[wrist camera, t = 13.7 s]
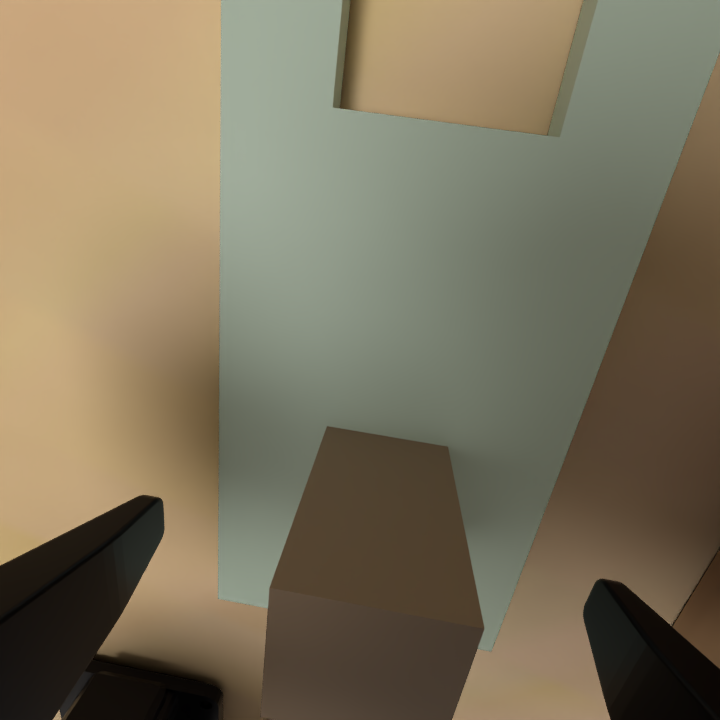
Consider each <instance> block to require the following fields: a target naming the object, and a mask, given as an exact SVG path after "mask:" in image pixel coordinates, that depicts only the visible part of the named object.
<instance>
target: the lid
mask: <svg viewBox="0 0 720 720" xmlns="http://www.w3.org/2000/svg"><path fill="white" fill-rule="evenodd" d="M350 1H351V0H221V143H220V329H219V516H218V599H222V600H227V601H232V602H237V603H242V604H248V605H253V606H258V607H263V608H268V615H267V630H266V644H265V658H264V672H263V687H262V701H261V715H260V717H262V718H267V719H272V720H452V718H453V715H454V712H455V710H456V707H457V704H458V701H459V698H460V696H461V693H462V690H463V687H464V685H465V682H466V679H467V676H468V674H469V671H470V668H471V665H472V662H473V660H474V657H475V654H476V651H477V649H480V650H485V651H490V652H491V651H492V648H493V646H494V643H495V641H496V638H497V635H498V633H499V630H500V627H501V625H502V622H503V620H504V617H505V614H506V612H507V609H508V606H509V604H510V601H511V599H512V596H513V593H514V591H515V588H516V585H517V583H518V580H519V578H520V575H521V572H522V570H523V567H524V564H525V562H526V559H527V557H528V554H529V551H530V549H531V546H532V543H533V541H534V538H535V536H536V533H537V530H538V528H539V525H540V522H541V520H542V517H543V515H544V512H545V509H546V507H547V504H548V501H549V499H550V496H551V494H552V491H553V488H554V486H555V483H556V480H557V478H558V475H559V473H560V470H561V467H562V465H563V462H564V459H565V457H566V454H567V452H568V449H569V446H570V444H571V441H572V438H573V436H574V433H575V431H576V428H577V425H578V423H579V420H580V417H581V415H582V412H583V410H584V407H585V404H586V402H587V399H588V396H589V394H590V391H591V389H592V386H593V383H594V381H595V378H596V375H597V373H598V370H599V368H600V365H601V362H602V360H603V357H604V354H605V352H606V349H607V347H608V344H609V341H610V339H611V336H612V334H613V331H614V328H615V326H616V323H617V320H618V318H619V315H620V313H621V310H622V307H623V305H624V302H625V299H626V297H627V294H628V292H629V289H630V286H631V284H632V281H633V278H634V276H635V273H636V271H637V268H638V265H639V263H640V260H641V257H642V255H643V252H644V250H645V247H646V244H647V242H648V239H649V236H650V234H651V231H652V229H653V226H654V223H655V221H656V218H657V215H658V213H659V210H660V208H661V205H662V202H663V200H664V197H665V194H666V192H667V189H668V187H669V184H670V181H671V179H672V176H673V173H674V171H675V168H676V166H677V163H678V160H679V158H680V155H681V152H682V150H683V147H684V145H685V142H686V139H687V137H688V134H689V131H690V129H691V126H692V124H693V121H694V118H695V116H696V113H697V110H698V108H699V105H700V103H701V100H702V97H703V95H704V92H705V89H706V87H707V84H708V82H709V79H710V76H711V74H712V71H713V68H714V66H715V63H716V61H717V58H718V55H719V53H720V0H583V4H582V8H581V12H580V15H579V19H578V23H577V27H576V30H575V34H574V38H573V41H572V45H571V49H570V53H569V56H568V60H567V64H566V68H565V71H564V75H563V79H562V83H561V86H560V90H559V94H558V97H557V101H556V105H555V109H554V112H553V116H552V120H551V124H550V127H549V131H548V135H547V136H545V135H538V134H530V133H523V132H515V131H507V130H500V129H492V128H484V127H477V126H469V125H462V124H454V123H446V122H439V121H431V120H424V119H416V118H408V117H401V116H393V115H385V114H378V113H370V112H363V111H355V110H347V109H340V102H341V92H342V82H343V72H344V61H345V51H346V41H347V31H348V21H349V11H350Z"/></svg>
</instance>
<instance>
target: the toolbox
mask: <svg viewBox="0 0 720 720" xmlns="http://www.w3.org/2000/svg"><path fill="white" fill-rule="evenodd" d="M673 628H674V629H675V630H676V631H677V632H679V633H680V634H681V635H682V636H683V637H684V638H685V639H687V640H688V641H689V642H690V643H691V644H692V645H693V646H694V647H696V648H697V649H698V650H699V651H700V652H701V653H702V654H703V655H705V656H706V657H707V658H708V659H709V660H710V661H711V662H713V663H714V664H715V665H716V666H717V667H718V668H719V669H720V550H719V551H718V553H717V555H716V556H715V558H714V559H713V561H712V563H711V564H710V566H709V568H708V569H707V571H706V573H705V574H704V576H703V578H702V579H701V581H700V582H699V584H698V586H697V587H696V589H695V591H694V592H693V594H692V596H691V597H690V599H689V600H688V602H687V604H686V605H685V607H684V609H683V610H682V612H681V614H680V615H679V617H678V619H677V620H676V622H675V623H674V625H673Z"/></svg>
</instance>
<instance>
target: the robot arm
mask: <svg viewBox="0 0 720 720" xmlns="http://www.w3.org/2000/svg"><path fill="white" fill-rule="evenodd" d="M163 534H164V509H163V501H162V499H161V498H159V497H154V496H148V495H140V496H138V497H136V498H134V499H132V500H130V501H128V502H126V503H124V504H122V505H120V506H118V507H116V508H114V509H112V510H110V511H108V512H106V513H104V514H102V515H100V516H98V517H96V518H94V519H92V520H90V521H88V522H86V523H84V524H82V525H80V526H78V527H76V528H74V529H72V530H70V531H68V532H66V533H64V534H62V535H60V536H58V537H56V538H54V539H52V540H50V541H48V542H46V543H44V544H42V545H40V546H38V547H36V548H34V549H32V550H30V551H28V552H26V553H24V554H22V555H20V556H19V557H17V558H15V559H13V560H11V561H9V562H7V563H5V564H3V565H1V566H0V720H53V718H54V717H55V715H56V714H57V712H58V711H59V709H60V713H61V718H62V720H223V692H222V691H221V690H220V689H219V688H218V687H216V686H214V685H211V684H207V683H202V682H197V681H192V680H187V679H182V678H177V677H173V676H168V675H163V674H158V673H153V672H148V671H143V670H139V669H134V668H129V667H124V666H119V665H114V664H109V663H105V662H100V661H95V660H92V659H93V657H94V656H95V654H96V653H97V651H98V650H99V648H100V647H101V645H102V644H103V642H104V641H105V639H106V637H107V636H108V634H109V633H110V631H111V630H112V628H113V627H114V625H115V624H116V622H117V620H118V619H119V617H120V616H121V614H122V612H123V610H124V609H125V607H126V605H127V603H128V601H129V600H130V598H131V596H132V594H133V592H134V590H135V588H136V586H137V585H138V583H139V581H140V579H141V577H142V575H143V573H144V571H145V570H146V568H147V566H148V564H149V562H150V560H151V558H152V556H153V555H154V553H155V551H156V549H157V547H158V545H159V543H160V541H161V539H162V537H163ZM583 617H584V622H585V626H586V630H587V634H588V638H589V642H590V646H591V649H592V653H593V657H594V661H595V665H596V669H597V672H598V676H599V680H600V684H601V688H602V692H603V696H604V699H605V702H606V706H607V709H608V713H609V716H610V719H611V720H720V669H719V668H718V667H717V666H716V665H715V664H714V663H713V662H711V661H710V660H709V659H708V658H707V657H706V656H705V655H703V654H702V653H701V652H700V651H699V650H698V649H697V648H696V647H694V646H693V645H692V644H691V643H690V642H689V641H688V640H687V639H685V638H684V637H683V636H682V635H681V634H680V633H679V632H677V631H676V630H675V629H674V628H673V627H672V626H671V625H670V624H668V623H667V622H666V621H665V620H664V619H663V618H662V617H660V616H659V615H658V614H657V613H656V612H655V611H654V610H653V609H651V608H650V607H649V606H648V605H647V604H646V603H645V602H643V601H642V600H641V599H640V598H639V597H638V596H637V595H636V594H634V593H633V592H632V591H631V590H630V589H629V588H628V587H627V586H625V585H624V584H622V583H620V582H618V581H612V580H607V579H599V580H597V581H596V582H595V584H594V586H593V588H592V591H591V593H590V595H589V597H588V599H587V601H586V603H585V605H584V610H583Z"/></svg>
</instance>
